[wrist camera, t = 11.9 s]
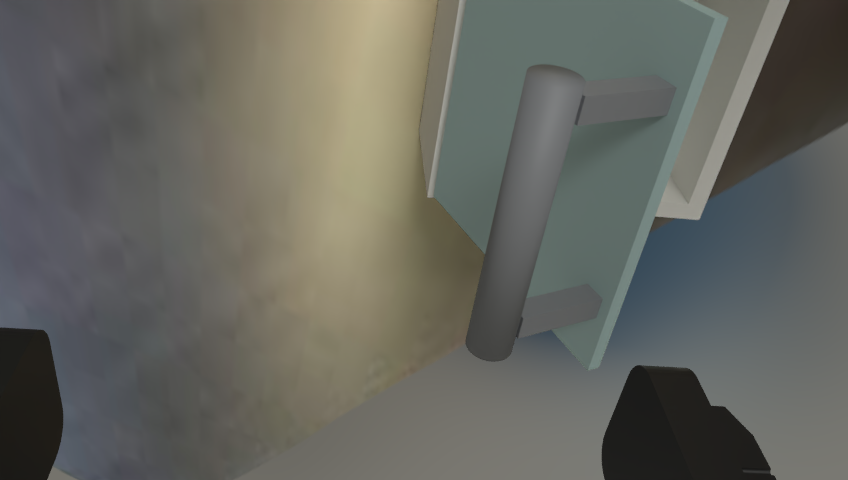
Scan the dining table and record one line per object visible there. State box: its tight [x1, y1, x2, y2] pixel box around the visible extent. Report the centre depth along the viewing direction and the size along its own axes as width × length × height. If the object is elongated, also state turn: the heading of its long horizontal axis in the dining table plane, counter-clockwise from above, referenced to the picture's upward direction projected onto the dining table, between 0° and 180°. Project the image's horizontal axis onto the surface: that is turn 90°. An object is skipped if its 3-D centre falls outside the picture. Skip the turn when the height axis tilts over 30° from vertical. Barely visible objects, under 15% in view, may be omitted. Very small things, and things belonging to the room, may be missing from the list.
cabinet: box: [419, 0, 790, 220], centre depth 42 cm, size 16×16×8 cm
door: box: [434, 0, 728, 371], centre depth 31 cm, size 15×14×6 cm
